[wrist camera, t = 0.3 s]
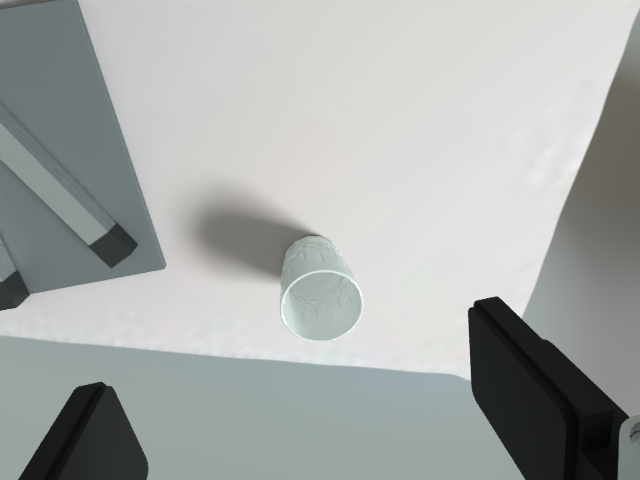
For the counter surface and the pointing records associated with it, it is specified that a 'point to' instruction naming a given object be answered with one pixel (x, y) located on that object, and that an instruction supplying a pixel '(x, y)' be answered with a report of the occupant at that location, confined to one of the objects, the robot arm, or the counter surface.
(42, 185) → the moving tong arm
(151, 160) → the counter surface
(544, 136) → the counter surface
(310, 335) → the white cup
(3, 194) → the slate board
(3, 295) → the bar
